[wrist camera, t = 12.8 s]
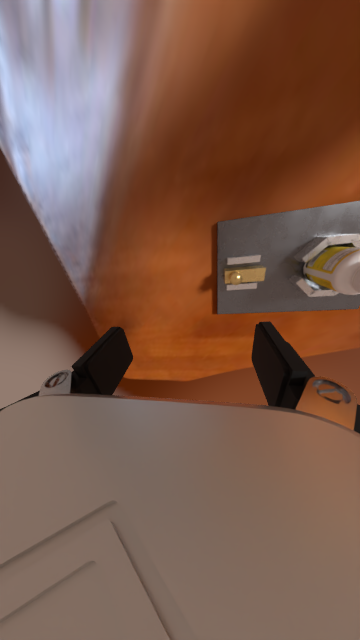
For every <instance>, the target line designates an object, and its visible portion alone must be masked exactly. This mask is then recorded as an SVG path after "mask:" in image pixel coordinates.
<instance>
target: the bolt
mask: <svg viewBox="0 0 360 640" xmlns="http://www.w3.org/2000/svg"><path fill="white" fill-rule="evenodd" d="M265 271H266V267H264V266H262V265H256V266H245V267H235V268H224V277H223V280H224V283H225V284H227V283H232V284H233V285H238V284H240V283H241V282H254V281H264V277H265Z"/></svg>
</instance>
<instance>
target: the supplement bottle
mask: <svg viewBox="0 0 360 640" xmlns="http://www.w3.org/2000/svg"><path fill="white" fill-rule="evenodd" d="M303 273H304V276H305V277H306V279H308V280H309V281H311V282H314V283H316V284H319V285H321V286H324V287H326V288H329V289H332V290H334V291H337V292H339V293H342V294H347V295H356V294H360V248H357V247H334V246H331V247H326V248H324V249H323V250H322V251H321V252H320V253H318V254H317V255H316V256H315V257H313V258H312V259H311V260H310V261H308V262H307V263H305V265H304V268H303Z"/></svg>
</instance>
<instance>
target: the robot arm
mask: <svg viewBox="0 0 360 640" xmlns="http://www.w3.org/2000/svg"><path fill="white" fill-rule="evenodd" d="M132 360H133V355H132V352H131V349H130V347H129V344H128V341H127V338H126V335H125V332H124V330H123V329H122V328H121V327H112V328H110V329H109V330H108V331H107V332H106V333H105V334H104V335H103V336H102V337H101V338H100V339H99V340H98V341H97V342H96V343H95V344H94V345H93V346H92V347H91V348H90V349H89V350H88V351H87V352H86V353H85V354H84V355H83V356H82V357H81V358H80V359H79V360H78V361H76V362H75V363H74V364H73V365H72V368H73V369H74V371H73V372H71V371H70V370H62V371H59V372H57V373H55V374H53V375H51V376H50V377H49V378H47V379H46V380H45V381H44V382H43V384H42V386H41V389H40V391H38V392H36V393H34V394H32V395H30V396H28V397H25V398H23V399H21V400H19V401H17V402H15V403H13V404H11V405H9V406H7V407H4V408H2V409H0V640H360V405H358V404H357V398H356V396H355V395H354V393H353V392H352V391H351V390H350V389H349V388H347V387H346V386H344V385H343V384H341V383H339V382H337V381H335V380H333V379H330V378H326V377H321V376H319V377H315V375H314V374H313V373H312V372H311V370H310V369H309V368H308V366H307V365H306V364H305V363H304V361H303V360H302V359H301V358H300V356H299V355H298V354H297V353H296V351H295V350H294V349H293V347H292V346H291V345H290V344H289V343H288V342H286V341H285V340H284V339H283V338H282V336H281V335H280V334H279V332H278V331H277V330H276V328H275V327H274V326H273V325H272V323H271V322H259V324H256V327H255V335H254V342H253V350H252V363H253V365H254V368H255V370H256V373H257V376H258V378H259V381H260V384H261V386H262V389H263V392H264V394H265V397H266V399H267V402H268V405H269V406H266V405H253V404H242V403H229V402H214V401H198V400H182V399H167V398H150V397H133V396H115V395H112V394H113V393H114V391H115V389H116V387H117V386H118V384H119V382H120V381H121V379H122V377H123V376H124V374H125V372H126V370H127V369H128V367H129V365H130V364H131V362H132Z"/></svg>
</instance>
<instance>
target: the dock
mask: <svg viewBox="0 0 360 640" xmlns="http://www.w3.org/2000/svg"><path fill="white" fill-rule="evenodd" d="M331 246H334V247H357V248H360V201H355V202H349V203H342V204H335V205H329V206H322V207H315V208H308V209H302V210H295V211H288V212H282V213H275V214H268V215H261V216H255V217H248V218H241V219H234V220H228V221H221V222H217V314H231V313H258V312H285V311H312V310H339V309H358V308H359V306H360V294H356V295H347V294H342V293H339V292H337V291H334V290H332V289H329V288H326V287H324V286H321V285H319V284H316V283H314V282H311V281H309V280H308V279H306V277H305V276H304V273H303V268H304V265H305V263H307V262H308V261H310V260H311V259H312V258H313V257H315V256H316V255H317V254H318V253H320V252H321V251H322V250H323V249H324V248H326V247H331ZM256 265H262V266H264V267H266V271H265V277H264V281H254V282H241V283H240V284H238V285H233V284H232V283H227V284H225V283H224V280H223V277H224V268H235V267H245V266H256Z"/></svg>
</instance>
